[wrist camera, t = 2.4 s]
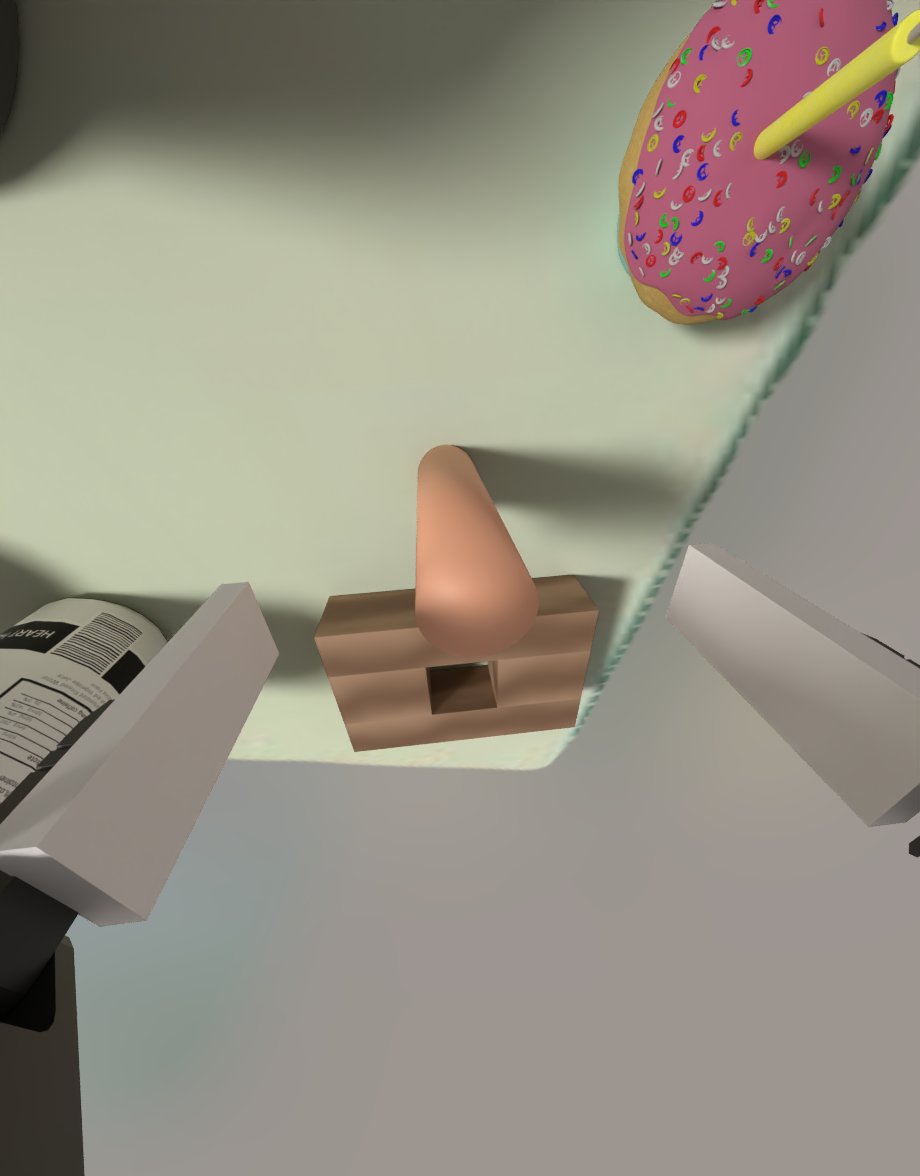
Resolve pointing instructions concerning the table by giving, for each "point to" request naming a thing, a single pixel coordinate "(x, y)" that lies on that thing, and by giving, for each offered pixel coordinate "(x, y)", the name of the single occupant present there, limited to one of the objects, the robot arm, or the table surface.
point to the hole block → (453, 670)
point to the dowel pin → (466, 562)
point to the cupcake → (755, 149)
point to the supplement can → (64, 675)
